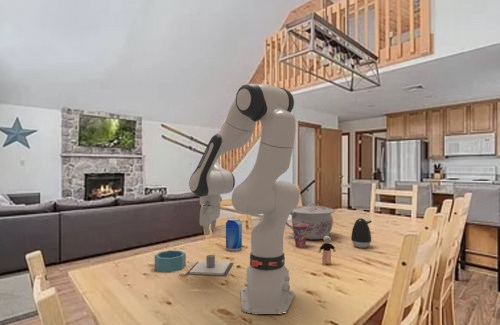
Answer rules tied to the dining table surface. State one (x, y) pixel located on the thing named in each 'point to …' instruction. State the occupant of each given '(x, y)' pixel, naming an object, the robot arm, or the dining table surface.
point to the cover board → (211, 270)
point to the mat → (211, 275)
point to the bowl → (170, 261)
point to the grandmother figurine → (326, 251)
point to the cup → (300, 234)
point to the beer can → (233, 234)
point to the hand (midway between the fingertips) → (210, 232)
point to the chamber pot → (313, 220)
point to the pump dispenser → (361, 233)
